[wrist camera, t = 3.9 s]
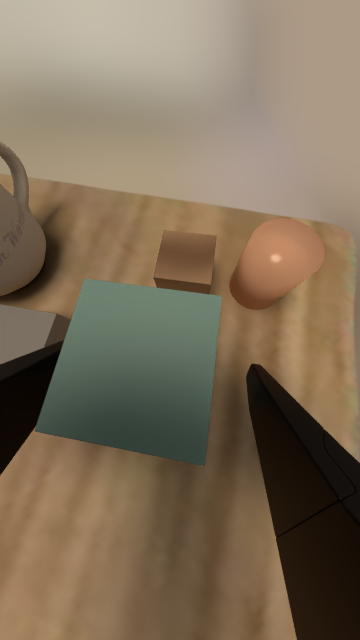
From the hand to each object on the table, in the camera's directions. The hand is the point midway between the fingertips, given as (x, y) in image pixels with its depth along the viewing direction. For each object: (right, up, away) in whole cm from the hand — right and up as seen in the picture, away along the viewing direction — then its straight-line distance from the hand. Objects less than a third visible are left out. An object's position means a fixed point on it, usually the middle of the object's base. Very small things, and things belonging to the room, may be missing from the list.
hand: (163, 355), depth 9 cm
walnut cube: (+2, +6, +9) cm, 11 cm away
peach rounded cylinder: (+9, +5, +9) cm, 13 cm away
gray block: (-12, -1, +8) cm, 14 cm away
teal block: (0, -2, +7) cm, 7 cm away
